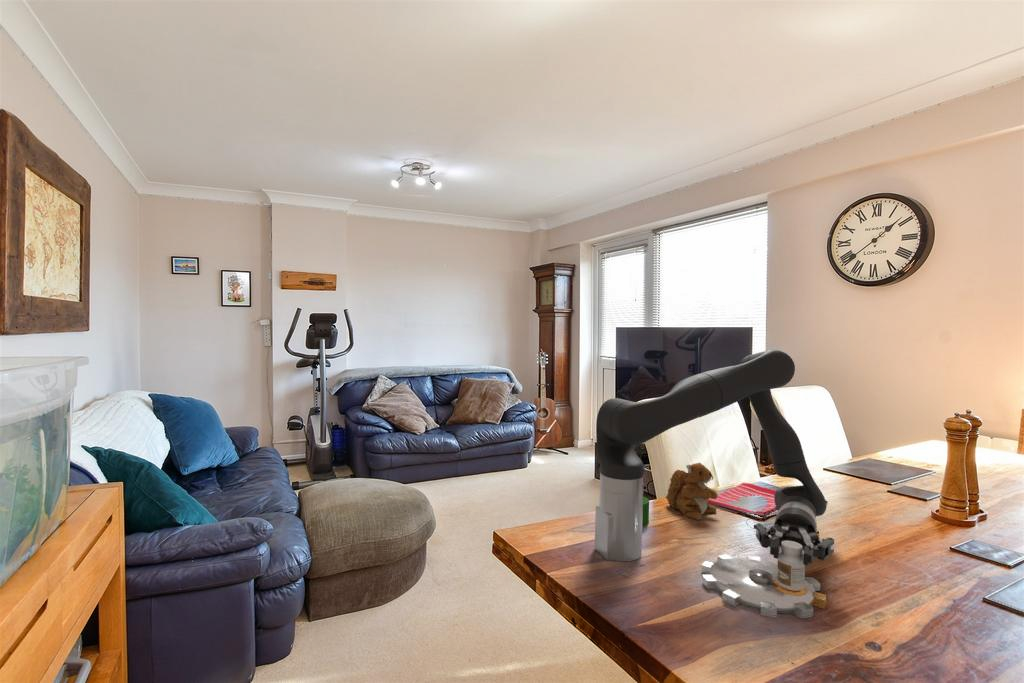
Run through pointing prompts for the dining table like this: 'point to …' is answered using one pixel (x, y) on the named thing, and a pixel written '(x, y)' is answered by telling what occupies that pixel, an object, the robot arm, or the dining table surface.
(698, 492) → the stuffed squirrel
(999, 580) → the dining table surface
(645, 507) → the candle
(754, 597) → the sprocket plate
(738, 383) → the robot arm
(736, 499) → the dish towel
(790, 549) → the pill bottle
